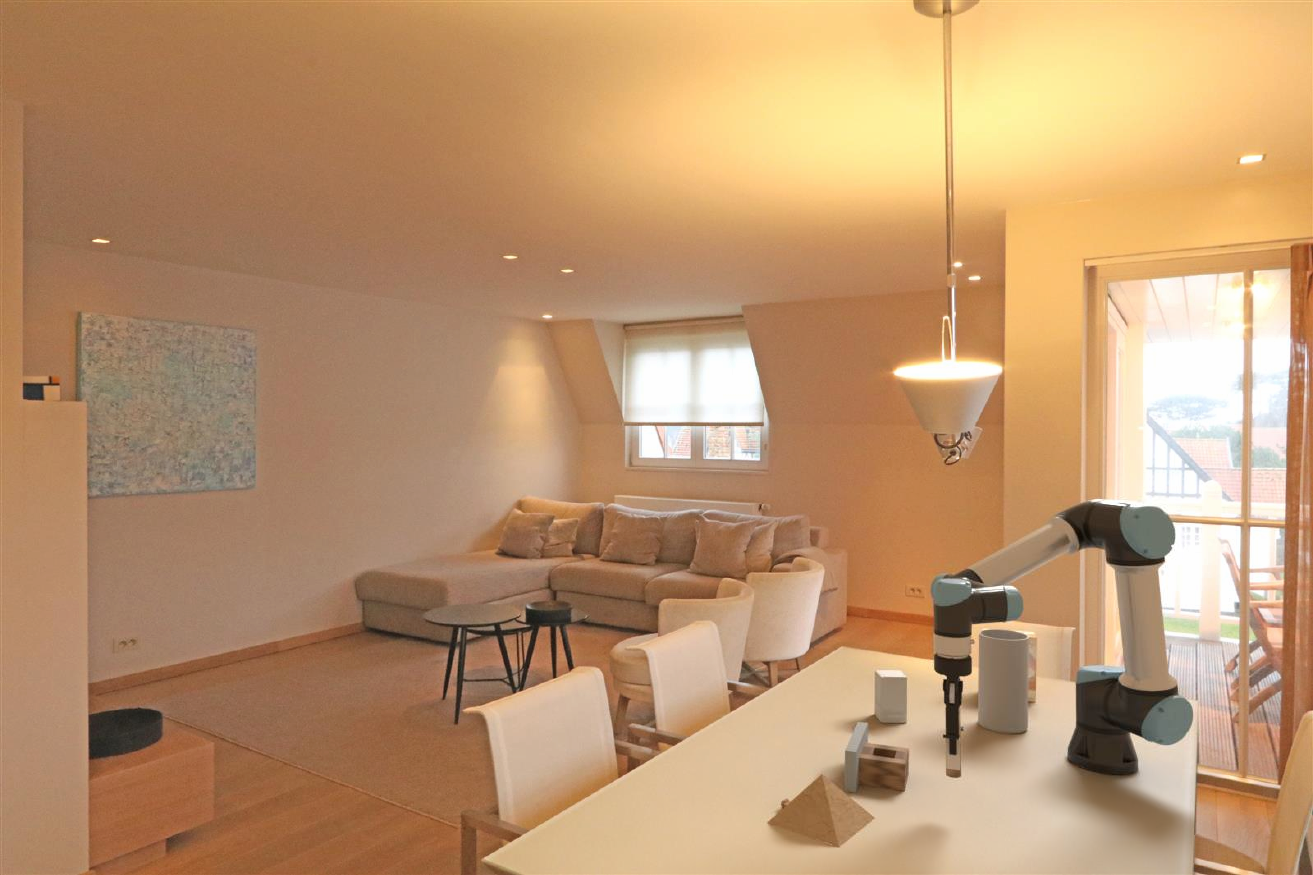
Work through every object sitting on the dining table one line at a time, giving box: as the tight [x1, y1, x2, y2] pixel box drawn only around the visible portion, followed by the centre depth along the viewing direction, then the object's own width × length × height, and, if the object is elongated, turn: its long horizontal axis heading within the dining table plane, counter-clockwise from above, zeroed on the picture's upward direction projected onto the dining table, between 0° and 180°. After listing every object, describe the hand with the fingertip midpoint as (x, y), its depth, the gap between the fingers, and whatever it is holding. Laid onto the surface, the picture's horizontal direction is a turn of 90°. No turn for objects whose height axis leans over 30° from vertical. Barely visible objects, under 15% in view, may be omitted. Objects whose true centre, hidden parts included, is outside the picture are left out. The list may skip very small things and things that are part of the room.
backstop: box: [844, 721, 869, 794], centre depth 197 cm, size 2×20×9 cm, turn 159°
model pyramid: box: [767, 773, 876, 848], centre depth 174 cm, size 17×17×10 cm
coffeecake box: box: [981, 628, 1038, 703], centre depth 256 cm, size 15×7×20 cm, turn 73°
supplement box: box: [873, 669, 908, 724], centre depth 236 cm, size 7×7×13 cm
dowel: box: [944, 707, 962, 779], centre depth 178 cm, size 3×3×14 cm
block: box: [859, 742, 910, 792], centre depth 195 cm, size 10×10×6 cm
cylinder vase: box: [977, 628, 1029, 735], centre depth 230 cm, size 12×12×25 cm
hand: (953, 765), depth 178 cm, fingers closed on dowel, 3 cm apart
